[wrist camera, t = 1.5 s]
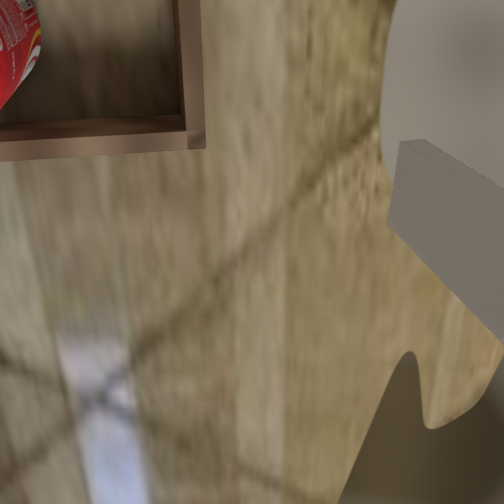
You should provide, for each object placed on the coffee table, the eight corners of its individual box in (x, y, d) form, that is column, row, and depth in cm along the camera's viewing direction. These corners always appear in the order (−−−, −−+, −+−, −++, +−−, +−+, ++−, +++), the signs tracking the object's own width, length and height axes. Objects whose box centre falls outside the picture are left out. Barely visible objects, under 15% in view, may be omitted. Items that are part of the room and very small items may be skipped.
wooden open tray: (-124, 148, 30) (-155, 171, 27) (-269, -195, 21) (-342, -223, 18) (198, 130, 34) (206, 148, 31) (183, -165, 25) (192, -184, 22)
